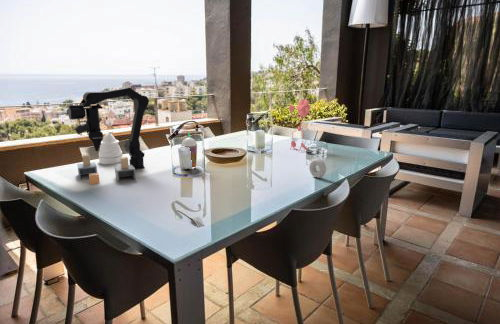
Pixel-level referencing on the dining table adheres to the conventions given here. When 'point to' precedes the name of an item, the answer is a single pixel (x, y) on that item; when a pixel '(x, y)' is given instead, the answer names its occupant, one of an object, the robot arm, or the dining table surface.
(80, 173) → the blue-grey and tan block
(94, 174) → the letter cube
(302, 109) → the figurine
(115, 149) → the honey pot
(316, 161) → the donut
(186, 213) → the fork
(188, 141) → the smoothie
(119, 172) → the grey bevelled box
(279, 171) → the dining table surface
